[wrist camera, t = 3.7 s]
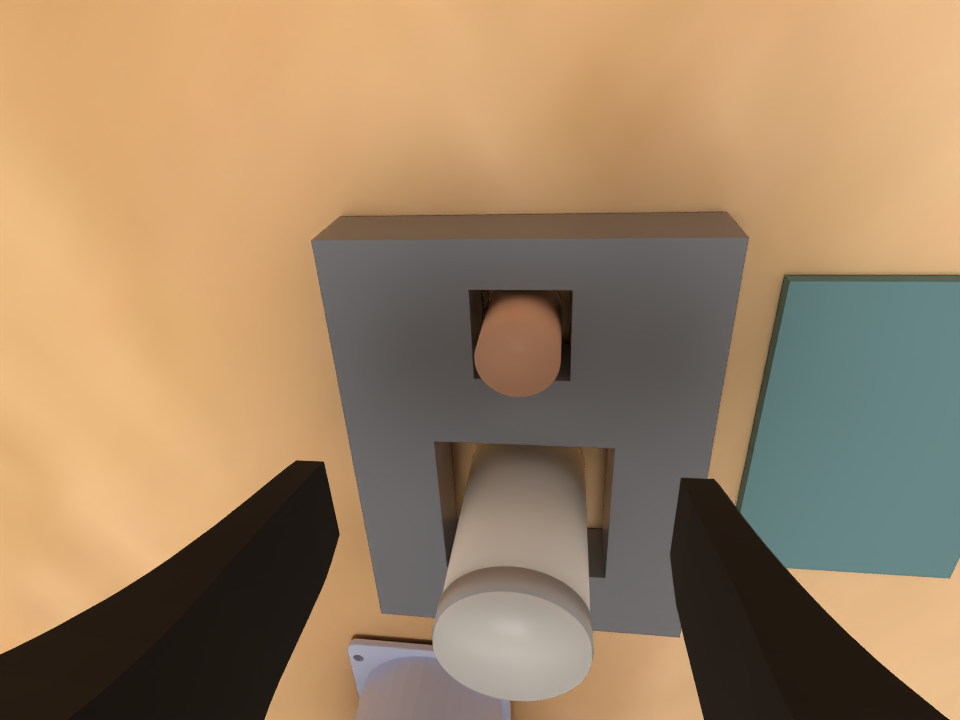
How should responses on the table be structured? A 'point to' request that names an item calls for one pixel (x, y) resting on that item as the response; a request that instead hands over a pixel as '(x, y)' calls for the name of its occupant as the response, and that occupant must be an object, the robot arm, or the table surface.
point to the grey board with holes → (548, 414)
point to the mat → (860, 427)
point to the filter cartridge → (519, 576)
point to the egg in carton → (520, 341)
